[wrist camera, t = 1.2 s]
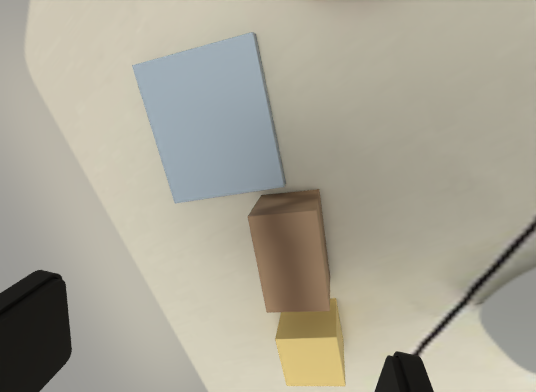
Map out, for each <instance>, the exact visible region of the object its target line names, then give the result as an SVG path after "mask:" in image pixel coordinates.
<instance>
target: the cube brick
mask: <svg viewBox="0 0 536 392" xmlns="http://www.w3.org/2000/svg"><path fill="white" fill-rule="evenodd" d="M275 340H276V345H277V349H278V353H279V357H280V361H281V365H282V369H283V373H284V377H285V381H286V385H287V386H345V365H344V343H343V336H342V331H341V325H340V319H339V313H338V307H337V302H336V298H333V299H330V311H319V312H281V316H280V320H279V324H278V329H277V333H276V338H275Z"/></svg>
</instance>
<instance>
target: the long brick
mask: <svg viewBox="0 0 536 392" xmlns="http://www.w3.org/2000/svg"><path fill="white" fill-rule="evenodd" d="M248 221H249V226H250V231H251V236H252V241H253V246H254V251H255V256H256V261H257V266H258V271H259V276H260V281H261V286H262V291H263V296H264V301H265V306H266V311H267V312H319V311H330V272H329V264H328V256H327V248H326V240H325V232H324V224H323V216H322V208H321V200H320V192H319V189H317V190H307V191H298V192H288V193H279V194H269V195H261V197H260V198H259V200H258V201H257V203H256V204H255V206H254V208H253V209H252V211H251V212H250V214H249V215H248Z"/></svg>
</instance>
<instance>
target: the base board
mask: <svg viewBox="0 0 536 392" xmlns="http://www.w3.org/2000/svg"><path fill="white" fill-rule="evenodd" d="M132 67H133V70H134V73H135V77H136V80H137V83H138V86H139V89H140V93H141V96H142V99H143V102H144V105H145V109H146V112H147V115H148V118H149V122H150V125H151V128H152V131H153V134H154V138H155V141H156V144H157V147H158V151H159V154H160V157H161V160H162V163H163V167H164V170H165V173H166V176H167V180H168V183H169V186H170V189H171V192H172V196H173V199H174V202H175V203H181V202H188V201H194V200H201V199H207V198H214V197H221V196H227V195H234V194H241V193H247V192H254V191H261V190H267V189H274V188H280V187H284V186H285V184H286V182H285V177H284V172H283V167H282V162H281V157H280V152H279V147H278V142H277V137H276V133H275V128H274V123H273V118H272V113H271V108H270V103H269V98H268V93H267V88H266V83H265V78H264V73H263V68H262V63H261V58H260V53H259V48H258V43H257V38H256V34H255V33H253V32H251V33H247V34H244V35H240V36H237V37H233V38H229V39H226V40H222V41H219V42H215V43H211V44H208V45H204V46H201V47H197V48H193V49H190V50H186V51H183V52H179V53H175V54H172V55H168V56H165V57H161V58H157V59H154V60H150V61H147V62H143V63H139V64H136V65H132Z"/></svg>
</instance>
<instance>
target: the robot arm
mask: <svg viewBox="0 0 536 392" xmlns="http://www.w3.org/2000/svg"><path fill="white" fill-rule="evenodd" d="M71 350H72V348H71V336H70V326H69V316H68V304H67V293H66V284H65V282H64V281H63V280H62V277H61V275H59V274H56V273H52V272H48V271H43V270H37V271H35V272H33V273H31V274H30V275H28V276H27V277H25V278H23V279H22V280H20V281H19V282H17V283H16V284H14V285H12V286H11V287H9V288H8V289H6V290H5V291H3V292H2V293H0V392H39V391H40V390H41V389H42V388H43V387H44V386H45V385H46V384H47V383H48V382H49V381H50V380H51V379H52V378H53V376H54V375H55V374H56V373H57V372H58V371H59V370H60V369H61V368H62V367H63V365H65V364H66V362H67V361H68V359H69V358H70V355H71V352H72V351H71ZM375 392H434V391H433V388H432V386H431V383H430V380H429V378H428V375H427V372H426V369H425V367H424V364H423V361H422V359H421V358H420V357H419V356H416V355H411V354H407V353H402V352H398V351H396V352H395V353H394V355H393V356H389V355H388V356H387V358H386V360H385V363H384V366H383V369H382V372H381V375H380V377H379V380H378V383H377V386H376V389H375Z"/></svg>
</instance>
